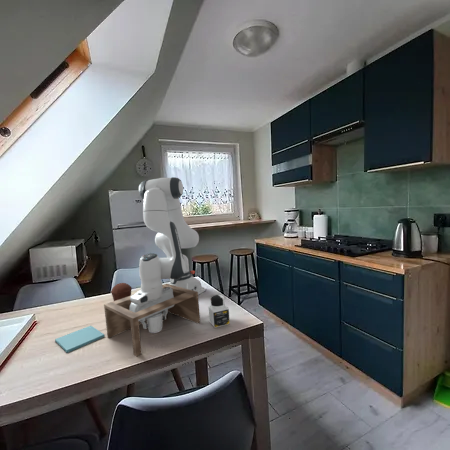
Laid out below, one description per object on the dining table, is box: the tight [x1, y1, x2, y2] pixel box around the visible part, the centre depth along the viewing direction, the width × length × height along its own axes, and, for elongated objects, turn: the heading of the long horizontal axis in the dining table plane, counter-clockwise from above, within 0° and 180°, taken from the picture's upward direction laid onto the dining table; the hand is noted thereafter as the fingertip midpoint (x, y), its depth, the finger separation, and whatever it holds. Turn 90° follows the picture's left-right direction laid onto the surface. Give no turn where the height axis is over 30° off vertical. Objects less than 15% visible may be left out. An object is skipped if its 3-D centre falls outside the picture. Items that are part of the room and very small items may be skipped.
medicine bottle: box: [207, 294, 231, 329], centre depth 111 cm, size 7×7×12 cm
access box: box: [103, 283, 201, 357], centre depth 108 cm, size 31×23×14 cm
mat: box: [54, 325, 105, 354], centre depth 104 cm, size 14×14×1 cm
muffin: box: [110, 282, 133, 301], centre depth 146 cm, size 12×11×10 cm
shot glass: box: [146, 312, 163, 334], centre depth 108 cm, size 7×7×7 cm
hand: (155, 323), depth 108 cm, fingers open, 8 cm apart
